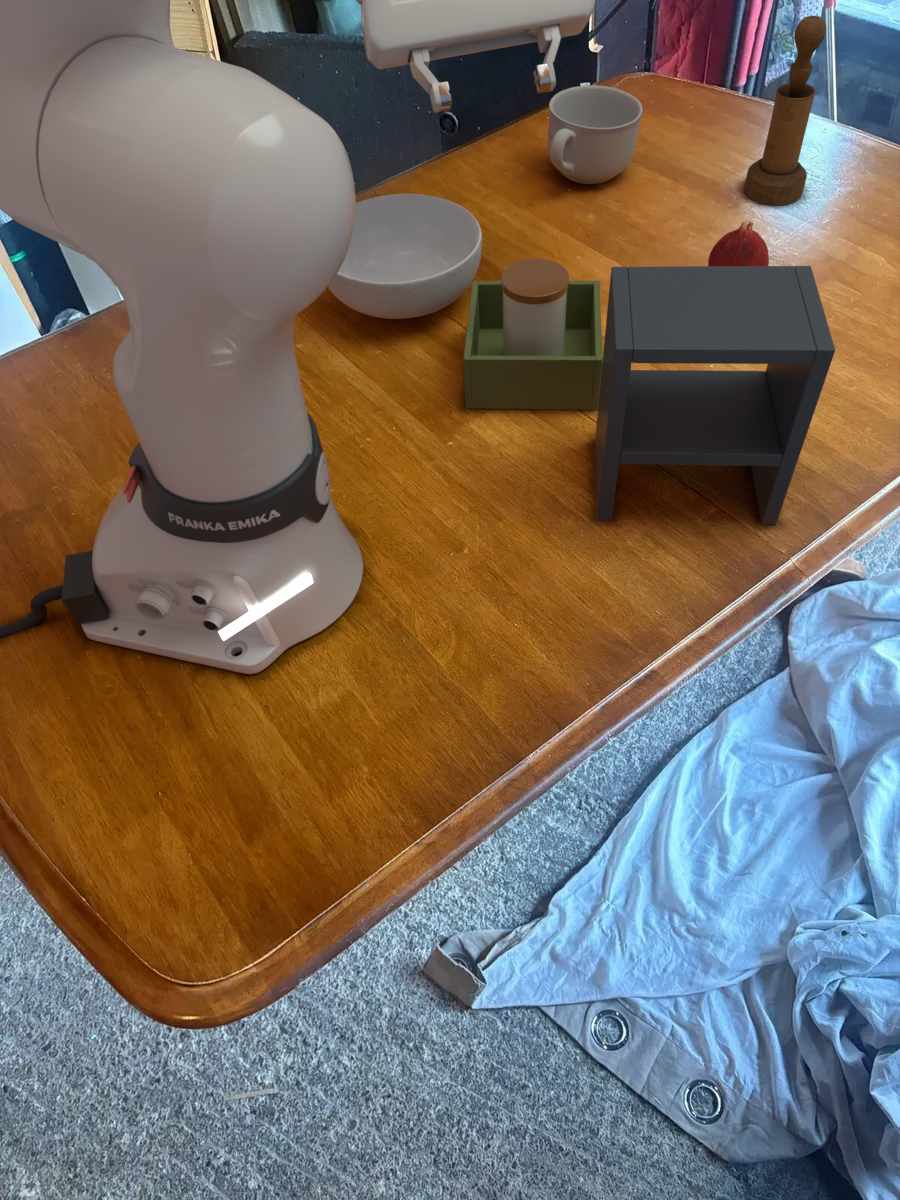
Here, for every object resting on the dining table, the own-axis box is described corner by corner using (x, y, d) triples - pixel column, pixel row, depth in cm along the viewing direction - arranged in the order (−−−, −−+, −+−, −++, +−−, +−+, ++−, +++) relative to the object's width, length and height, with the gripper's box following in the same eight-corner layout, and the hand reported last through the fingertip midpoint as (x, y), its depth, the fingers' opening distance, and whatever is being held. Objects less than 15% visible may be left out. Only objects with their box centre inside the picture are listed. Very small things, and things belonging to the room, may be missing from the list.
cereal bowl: (357, 362, 88) (346, 300, 83) (304, 279, 98) (292, 218, 92) (510, 314, 92) (510, 251, 86) (445, 238, 102) (441, 177, 96)
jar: (500, 382, 84) (499, 296, 77) (503, 343, 88) (502, 258, 81) (564, 382, 84) (569, 296, 77) (564, 343, 87) (569, 257, 80)
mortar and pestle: (734, 197, 104) (769, 23, 89) (756, 172, 107) (794, 0, 93) (789, 211, 101) (834, 34, 87) (811, 185, 104) (857, 11, 90)
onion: (760, 314, 90) (778, 240, 83) (701, 310, 90) (715, 237, 84) (759, 281, 93) (777, 208, 87) (703, 278, 94) (716, 205, 88)
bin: (465, 408, 83) (463, 359, 79) (474, 330, 91) (472, 280, 86) (597, 410, 82) (602, 359, 78) (595, 330, 89) (599, 280, 85)
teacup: (587, 142, 114) (591, 75, 107) (654, 170, 108) (663, 100, 102) (510, 184, 108) (510, 115, 102) (576, 215, 103) (580, 144, 97)
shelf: (597, 520, 74) (615, 349, 60) (595, 438, 80) (611, 266, 66) (776, 524, 72) (835, 349, 59) (760, 441, 78) (811, 265, 65)
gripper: (341, -75, 72) (382, 103, 74) (581, -112, 74) (615, 61, 76) (339, -28, 78) (377, 135, 80) (561, -64, 80) (593, 95, 82)
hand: (495, 99), depth 78 cm, fingers open, 8 cm apart
